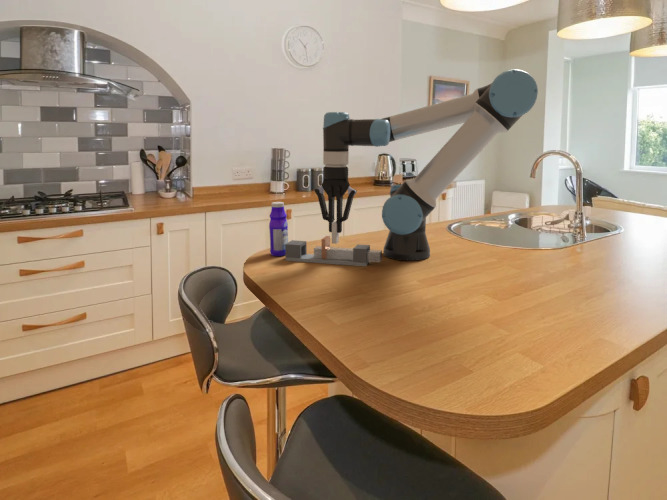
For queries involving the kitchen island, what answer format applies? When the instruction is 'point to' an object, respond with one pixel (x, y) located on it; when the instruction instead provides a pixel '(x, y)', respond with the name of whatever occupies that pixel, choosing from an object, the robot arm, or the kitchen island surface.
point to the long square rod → (342, 252)
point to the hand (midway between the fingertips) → (335, 242)
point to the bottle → (278, 229)
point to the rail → (299, 253)
